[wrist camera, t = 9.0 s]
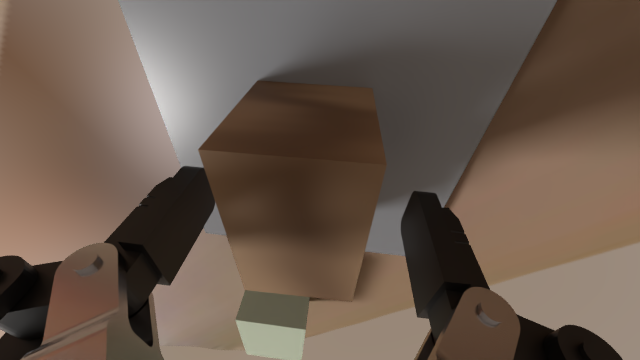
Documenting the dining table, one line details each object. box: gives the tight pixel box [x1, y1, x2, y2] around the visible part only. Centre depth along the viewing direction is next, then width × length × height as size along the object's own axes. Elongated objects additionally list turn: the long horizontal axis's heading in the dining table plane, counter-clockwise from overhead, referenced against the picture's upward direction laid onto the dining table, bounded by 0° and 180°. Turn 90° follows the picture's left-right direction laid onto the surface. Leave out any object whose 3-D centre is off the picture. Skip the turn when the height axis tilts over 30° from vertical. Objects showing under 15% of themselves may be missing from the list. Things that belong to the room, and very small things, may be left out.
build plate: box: [118, 0, 557, 256], centre depth 12 cm, size 14×14×1 cm
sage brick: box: [236, 290, 310, 360], centre depth 20 cm, size 4×7×5 cm, turn 175°
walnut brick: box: [198, 81, 387, 302], centre depth 10 cm, size 4×7×5 cm, turn 178°
